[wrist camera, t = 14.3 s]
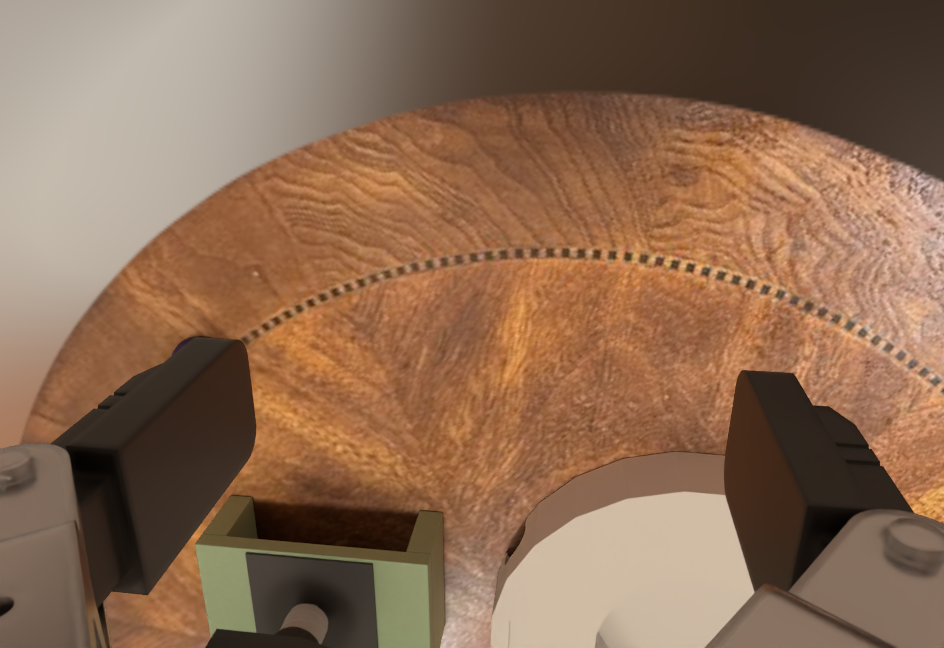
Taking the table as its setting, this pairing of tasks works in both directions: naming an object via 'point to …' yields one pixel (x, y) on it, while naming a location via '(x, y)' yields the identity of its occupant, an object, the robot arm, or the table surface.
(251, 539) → the bench
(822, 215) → the table surface
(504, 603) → the beige round base
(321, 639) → the light bulb
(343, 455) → the table surface
